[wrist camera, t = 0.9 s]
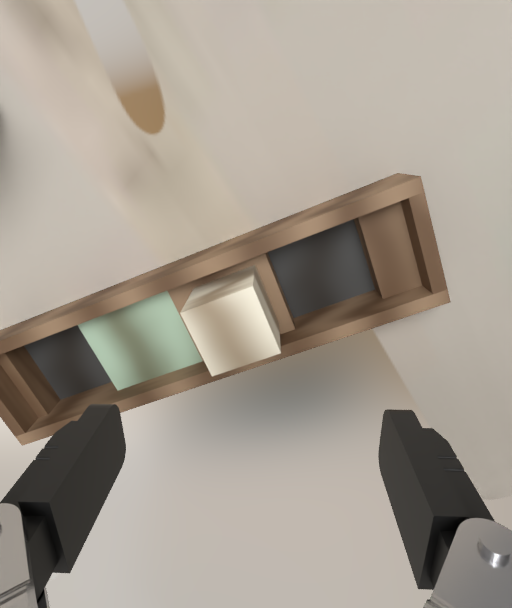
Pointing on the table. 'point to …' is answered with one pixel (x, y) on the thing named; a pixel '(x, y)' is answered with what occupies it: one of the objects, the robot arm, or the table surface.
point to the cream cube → (232, 321)
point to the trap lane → (210, 266)
